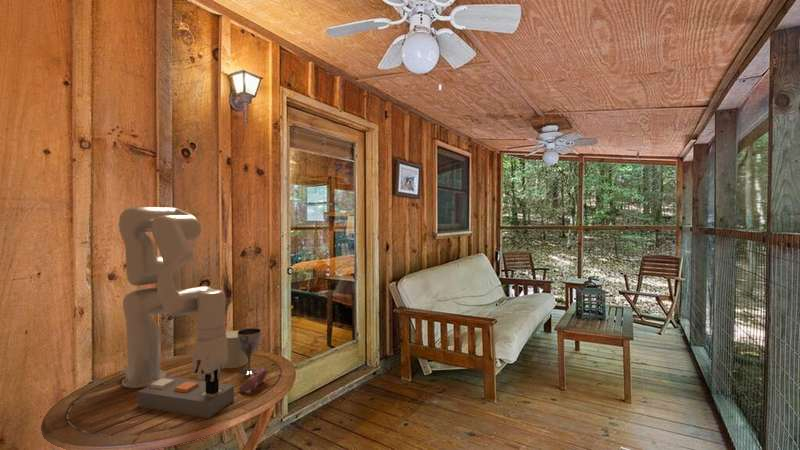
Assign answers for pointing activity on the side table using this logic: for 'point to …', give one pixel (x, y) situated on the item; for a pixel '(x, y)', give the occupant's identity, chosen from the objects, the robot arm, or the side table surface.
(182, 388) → the button orange
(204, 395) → the button sage
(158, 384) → the button cream
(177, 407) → the button panel
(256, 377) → the video game controller
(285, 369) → the side table surface
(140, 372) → the robot arm
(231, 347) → the can
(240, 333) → the wine glass
